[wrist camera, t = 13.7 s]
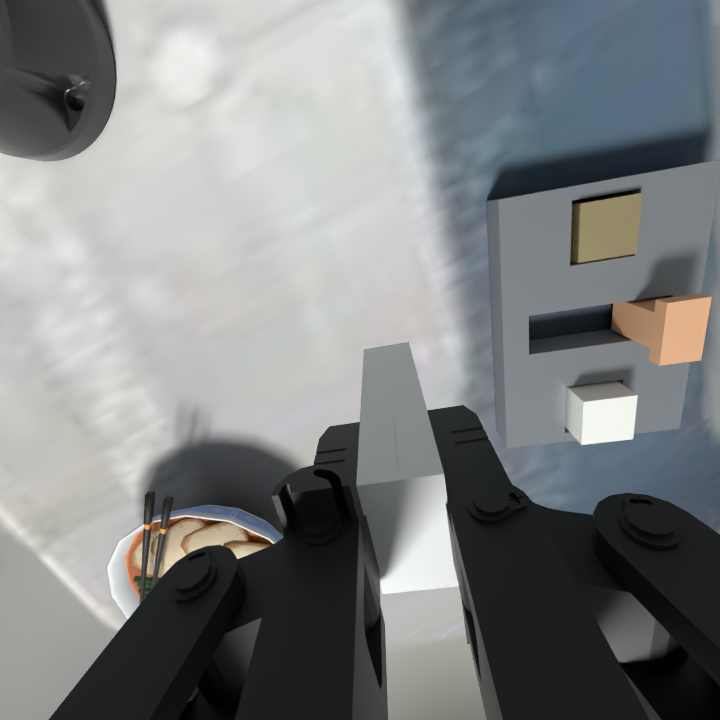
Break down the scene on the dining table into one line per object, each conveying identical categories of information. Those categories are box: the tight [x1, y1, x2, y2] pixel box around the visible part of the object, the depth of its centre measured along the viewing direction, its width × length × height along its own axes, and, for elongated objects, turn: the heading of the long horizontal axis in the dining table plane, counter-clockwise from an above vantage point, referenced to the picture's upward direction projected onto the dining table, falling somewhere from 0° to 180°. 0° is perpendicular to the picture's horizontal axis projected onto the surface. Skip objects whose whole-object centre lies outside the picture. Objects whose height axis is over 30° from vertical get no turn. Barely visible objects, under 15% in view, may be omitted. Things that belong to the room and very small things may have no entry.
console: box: [486, 160, 720, 448], centre depth 34 cm, size 23×16×4 cm
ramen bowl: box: [106, 491, 283, 619], centre depth 44 cm, size 25×23×8 cm
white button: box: [565, 380, 638, 445], centre depth 34 cm, size 4×4×4 cm
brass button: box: [570, 193, 643, 263], centre depth 30 cm, size 4×4×4 cm
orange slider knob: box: [611, 293, 712, 366], centre depth 31 cm, size 5×3×6 cm, turn 10°
